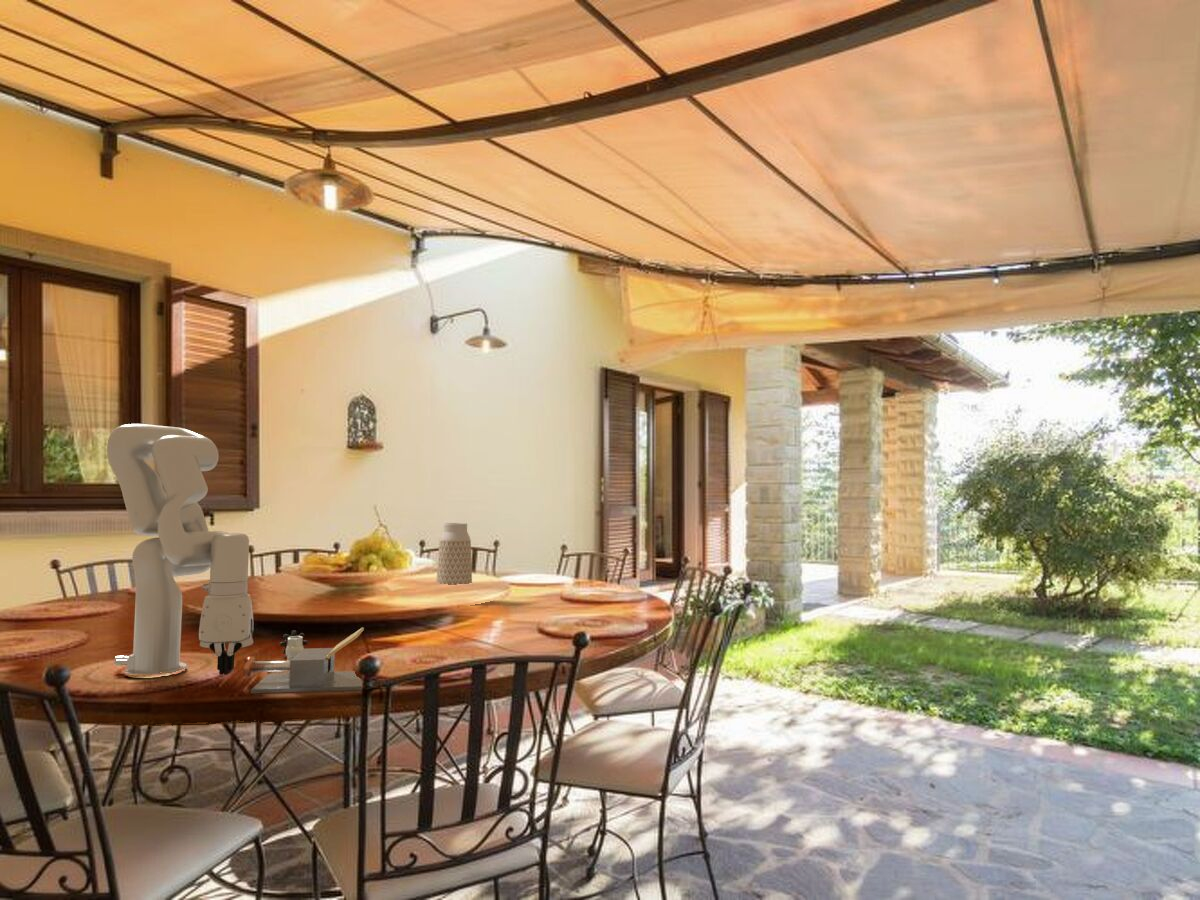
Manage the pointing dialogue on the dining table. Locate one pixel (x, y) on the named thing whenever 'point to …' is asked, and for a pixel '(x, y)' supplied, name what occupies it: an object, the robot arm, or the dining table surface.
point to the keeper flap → (344, 643)
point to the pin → (264, 666)
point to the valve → (293, 644)
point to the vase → (454, 555)
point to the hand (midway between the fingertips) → (225, 673)
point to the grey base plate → (310, 675)
